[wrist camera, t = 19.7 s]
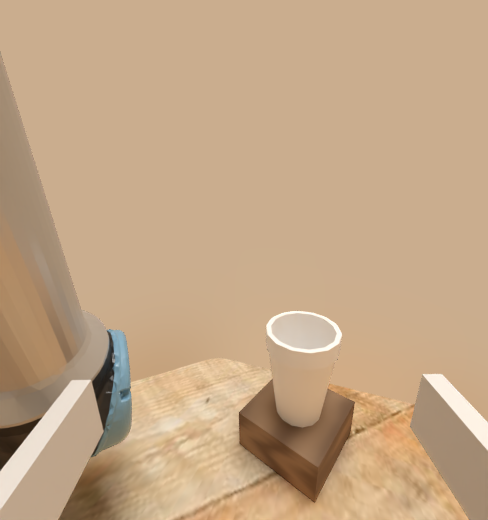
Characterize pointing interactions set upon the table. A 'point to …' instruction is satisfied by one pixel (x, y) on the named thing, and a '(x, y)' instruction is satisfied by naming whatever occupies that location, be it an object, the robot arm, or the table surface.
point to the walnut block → (296, 439)
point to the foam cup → (301, 363)
